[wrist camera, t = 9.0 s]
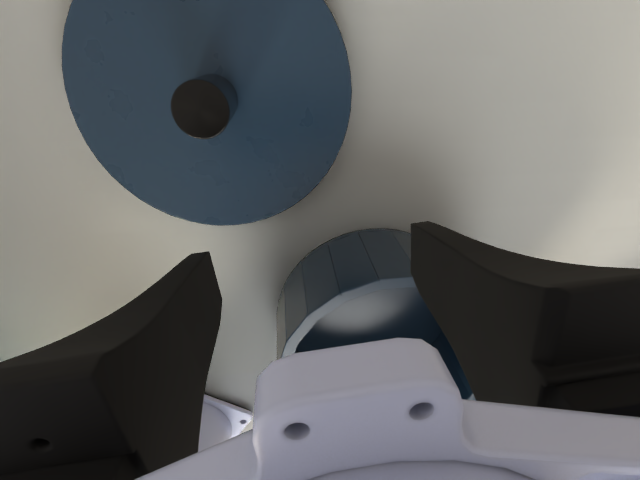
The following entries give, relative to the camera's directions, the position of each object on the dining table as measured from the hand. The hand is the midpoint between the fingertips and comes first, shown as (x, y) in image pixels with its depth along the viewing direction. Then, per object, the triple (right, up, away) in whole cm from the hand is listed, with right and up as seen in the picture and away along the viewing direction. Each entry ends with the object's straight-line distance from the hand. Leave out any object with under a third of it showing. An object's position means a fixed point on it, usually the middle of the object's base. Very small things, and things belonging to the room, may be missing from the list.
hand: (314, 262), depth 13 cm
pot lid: (-5, +8, +6) cm, 12 cm away
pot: (+4, -4, +14) cm, 15 cm away
